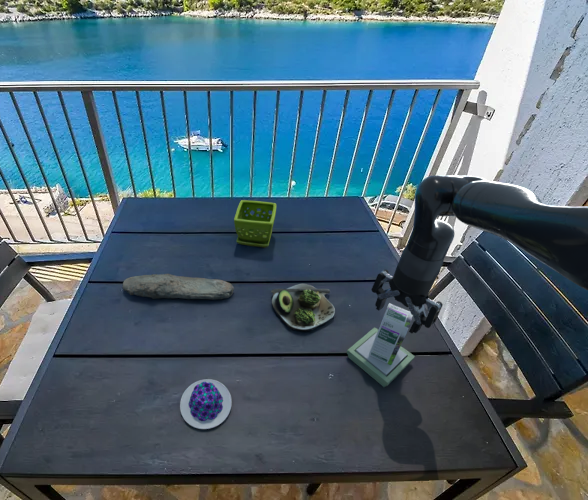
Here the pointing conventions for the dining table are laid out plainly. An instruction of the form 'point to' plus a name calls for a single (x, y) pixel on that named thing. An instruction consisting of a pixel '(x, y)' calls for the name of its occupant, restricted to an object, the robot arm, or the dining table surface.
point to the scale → (370, 368)
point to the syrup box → (391, 334)
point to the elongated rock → (177, 287)
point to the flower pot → (254, 223)
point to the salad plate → (302, 306)
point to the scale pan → (378, 364)
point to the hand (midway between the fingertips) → (395, 319)
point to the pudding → (205, 404)
